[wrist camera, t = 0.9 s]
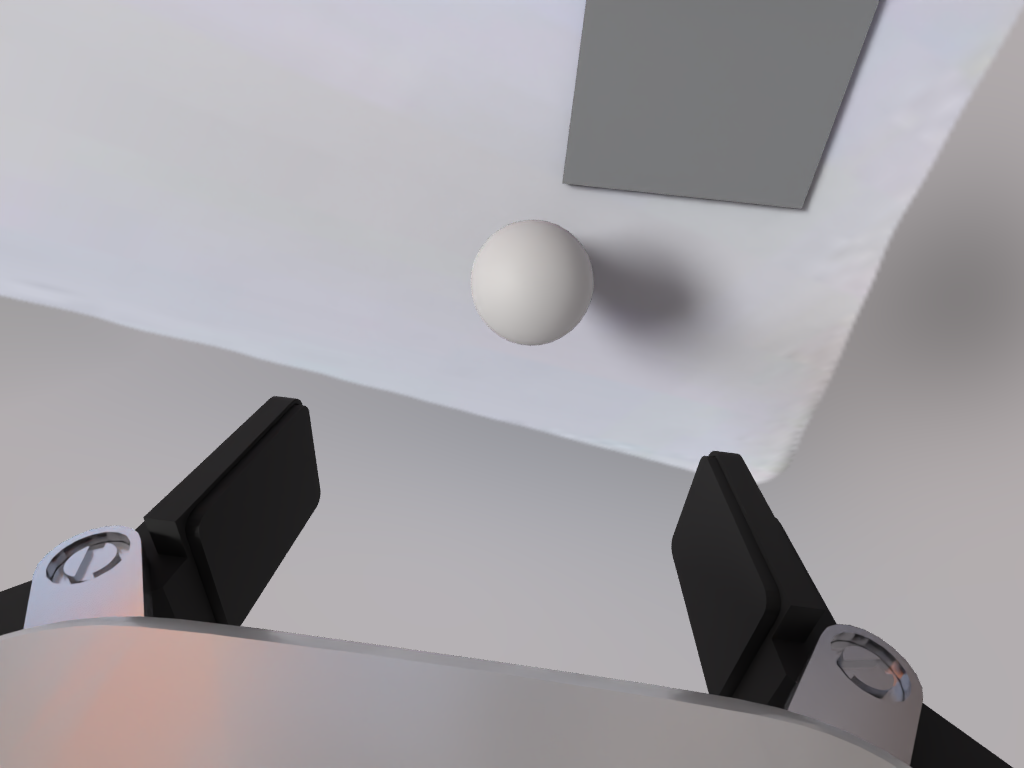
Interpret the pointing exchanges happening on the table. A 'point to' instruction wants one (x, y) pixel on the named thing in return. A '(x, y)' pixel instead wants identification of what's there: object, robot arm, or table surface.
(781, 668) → the robot arm
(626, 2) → the mat
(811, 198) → the table surface
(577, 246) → the lightbulb
